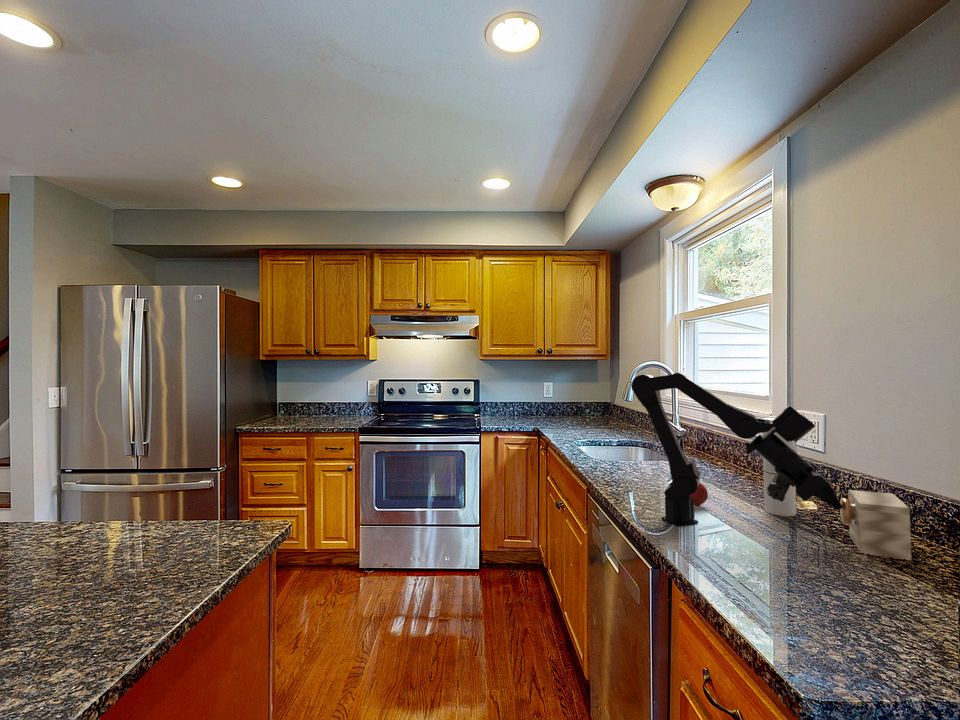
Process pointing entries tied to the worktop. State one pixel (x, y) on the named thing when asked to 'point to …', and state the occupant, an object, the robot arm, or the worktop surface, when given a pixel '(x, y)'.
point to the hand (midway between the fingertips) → (840, 508)
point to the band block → (880, 524)
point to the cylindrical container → (769, 473)
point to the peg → (847, 511)
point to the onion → (699, 495)
